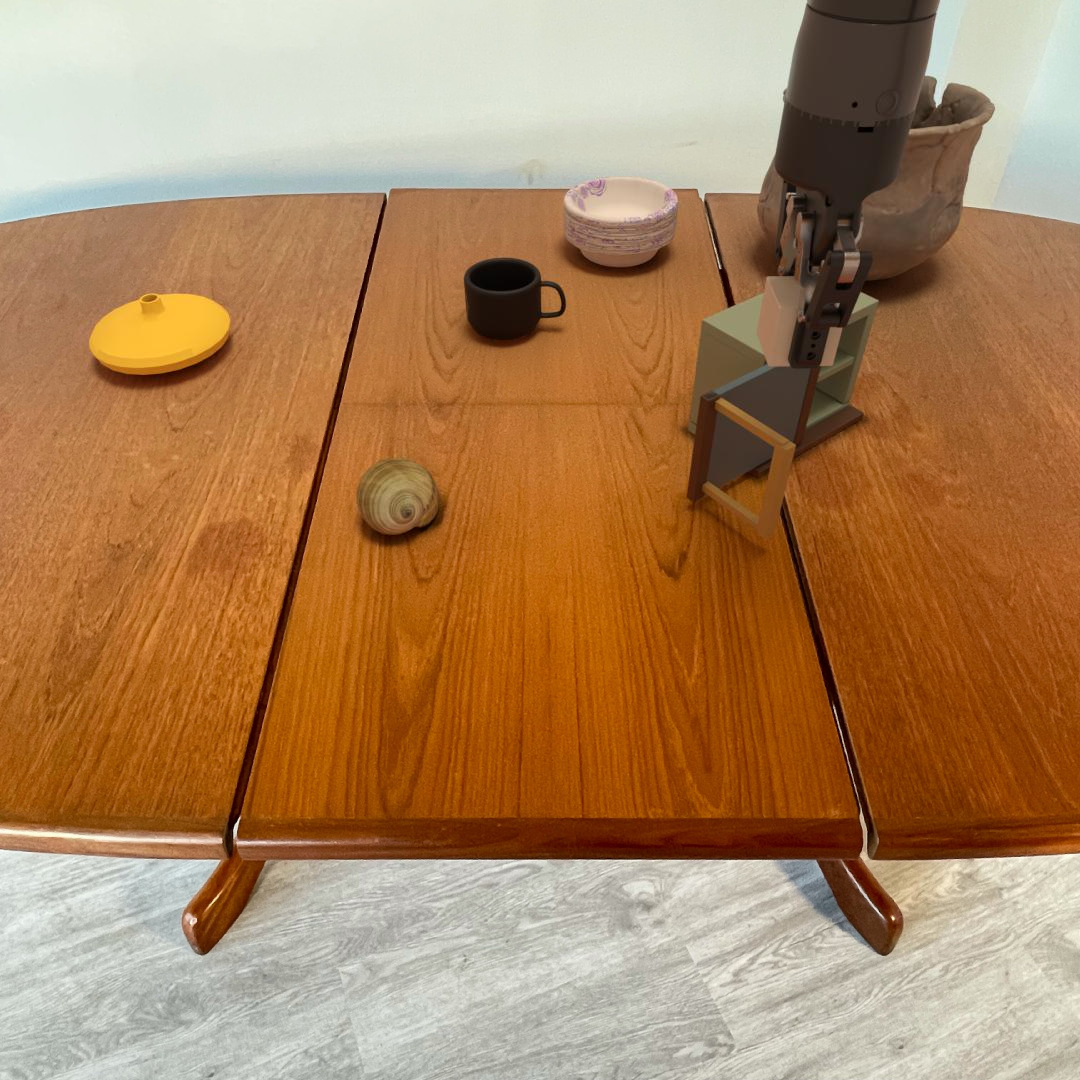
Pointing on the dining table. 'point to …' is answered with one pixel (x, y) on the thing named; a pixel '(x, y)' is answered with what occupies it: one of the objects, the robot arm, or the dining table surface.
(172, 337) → the vase
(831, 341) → the block
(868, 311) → the cabinet
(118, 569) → the dining table surface
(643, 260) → the paper bowls
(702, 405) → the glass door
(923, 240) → the pot
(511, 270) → the mug
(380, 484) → the seashell
